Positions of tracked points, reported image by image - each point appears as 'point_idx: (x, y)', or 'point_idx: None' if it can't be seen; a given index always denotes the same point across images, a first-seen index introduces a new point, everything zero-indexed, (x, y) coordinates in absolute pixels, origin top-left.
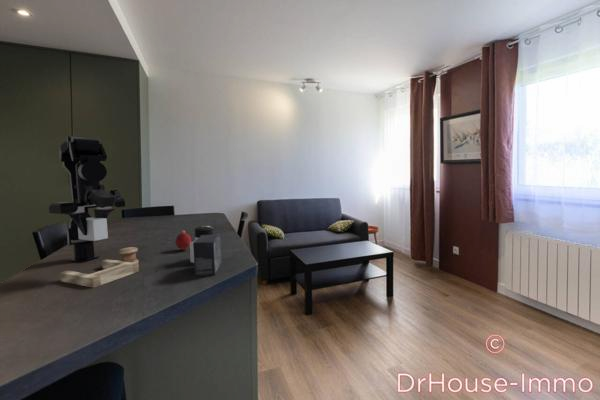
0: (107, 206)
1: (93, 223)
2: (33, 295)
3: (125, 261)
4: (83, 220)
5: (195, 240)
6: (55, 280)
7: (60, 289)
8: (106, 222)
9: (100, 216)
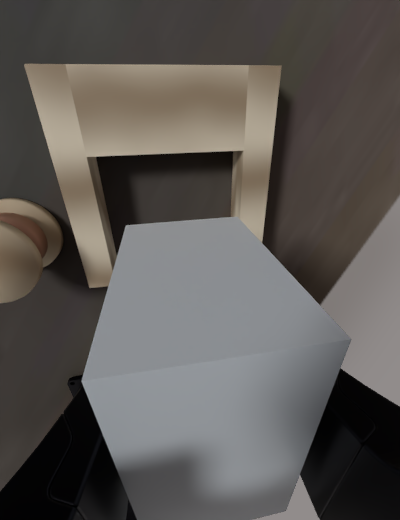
0: None
1: (314, 303)
2: (344, 203)
3: (39, 228)
4: (374, 414)
5: None
6: None
7: (298, 181)
8: (104, 320)
9: (98, 517)
